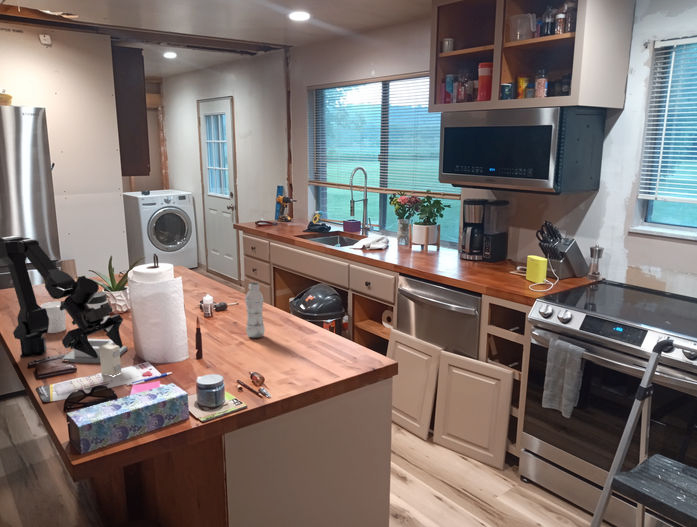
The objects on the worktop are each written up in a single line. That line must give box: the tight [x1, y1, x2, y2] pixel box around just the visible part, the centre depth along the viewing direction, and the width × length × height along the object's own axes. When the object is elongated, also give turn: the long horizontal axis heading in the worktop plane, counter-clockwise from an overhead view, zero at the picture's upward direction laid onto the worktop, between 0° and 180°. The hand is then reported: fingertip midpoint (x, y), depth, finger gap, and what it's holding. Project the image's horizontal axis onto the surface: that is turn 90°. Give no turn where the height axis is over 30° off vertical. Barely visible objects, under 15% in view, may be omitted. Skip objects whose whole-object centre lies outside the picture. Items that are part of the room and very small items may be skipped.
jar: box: [87, 291, 111, 324], centre depth 211 cm, size 9×8×12 cm
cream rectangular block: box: [99, 343, 122, 376], centre depth 168 cm, size 6×3×9 cm, turn 65°
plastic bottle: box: [244, 282, 266, 339], centre depth 200 cm, size 6×7×20 cm
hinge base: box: [61, 338, 128, 364], centre depth 182 cm, size 16×12×4 cm
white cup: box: [40, 300, 67, 334], centre depth 205 cm, size 8×8×10 cm
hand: (109, 352), depth 167 cm, fingers open, 9 cm apart
